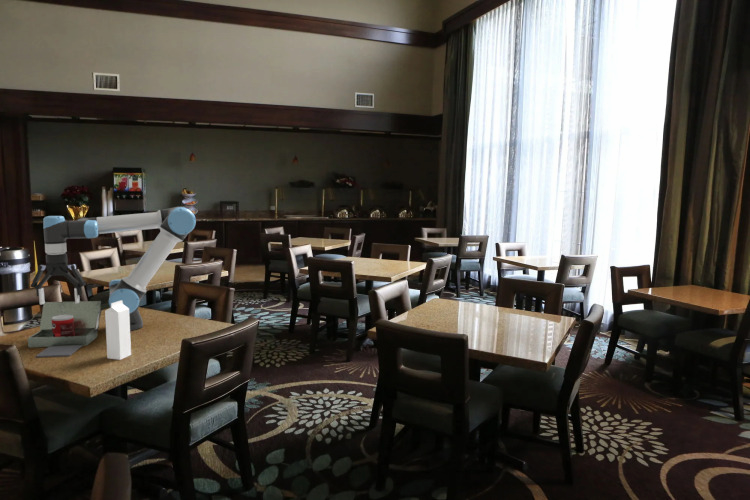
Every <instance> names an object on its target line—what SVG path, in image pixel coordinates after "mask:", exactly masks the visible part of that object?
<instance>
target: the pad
mask: <svg viewBox="0 0 750 500" xmlns="http://www.w3.org/2000/svg"><path fill="white" fill-rule="evenodd" d="M82 347H83V346H82V345H67V346H49V347H45V349H44V350H42V351H41V352H40V353H38V354H37V355H35V358H49V357H50V358H53V357H54V358H55V357H71V356H72V355H73V354H74V353H75V352H76V351H79V349H81V348H82Z"/></svg>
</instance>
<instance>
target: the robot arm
mask: <svg viewBox="0 0 750 500" xmlns="http://www.w3.org/2000/svg"><path fill="white" fill-rule="evenodd" d="M196 220H197V218H196V216H195V214H194V212H192V210H190V209H188V208H187V207H184V206H174V207H170V208H164V209H158V210H157V211H155V212H145V213H144V212H143V213H133V214H131V213H130V214H121V215H108V216H97V217H81V218H78V219H77V220H66V219H65V217H64V216H62V215H48V216H44V218H43V237H44V238H43V239H44V252H45V263H46V265H44V264H40V265H38V266H37V272H36V274H35V276H34V278H33V280H32V281H31V284H30V288H33V289H35V290H36V291H35V292H36V296H37V297H38V298H39V305H40V306H41V305H43V304H44V303H45V302H46V301H45V299H46V298H45V291H44V287H43V286H44V284H45V283H47V281H48V280H49V279H50V278H51V277H57V276H58V277H59V276H60V277H61V276H63V277H64V278H66V279H67V280H68V281H69V282H70V283H71V284H72V285H74V288H73V289H74V302H75V304H77V303H79V302H80V301H81V300H80V299H81V297H80V296H81V295H82V287H84V286H86V285H87V283H86V281H85V280H84V278H83V276H82V275H81V273H80V271H79V270H78V267H77V264H76V263H73V264H68V254H67V252H68V251H67V240H68V239H70V240H71V239H94V238H98V237H99V235H101V234H111V233H113V234H114V233H121V232H122V233H123V232H135V231H143V230H154V229H159V230H160V232H159V233H158V234H157V236H155V237H156V238H155V239H154V240H153V241H152V243H151V244H150V245H149V247H148V248H147V250H146V251H145V252H144V254H143V255H142V256H141V258H140V259H139V261H138V262H137V264H135V266H134V268H133V269H132V270H131V272H130V273H129V275H128V276H123V277H122V278H121V279H111V280H110V281H109V283H108V288H109V297H108V305H109V308H111V303H114V302H117V301H121V300H122V301H123V304H124V305H125V306H126V307H128V308H129V317H130V332H131V331H135V330H139V329H142V328H143V327H144V321H143V318H142V315H141V313H140V310H139V305H140V302H141V300H142V299H143V297H144V296H145V294H146V293H147V288H146V287H147V286H148V285H149V283H150V281H151V280H152V279H153V277H154V275H156V273H157V272H158V270H159V268H161V266H162V265H163V263H164V262H165V261H166V259H167V257H168V256H169V255H170V253H171V252H172V251H173V249H175V247H176V245H177V244H178V243H181V242H183V241H184V240H185V239H186V237H187V236H188V234H190V233H191V232H192V231H193V230H194V229H195V227H196V223H197V221H196ZM45 270H46V271H47V273H45V275H44V276H43V278H42V279H41V277H42V275H43V273H44V271H45ZM69 270H71V272H72V274H73V275H74V276H73V275H72V274H71V273H70V271H69ZM40 279H41V280H40Z"/></svg>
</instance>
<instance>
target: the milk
mask: <svg viewBox="0 0 750 500" xmlns="http://www.w3.org/2000/svg"><path fill="white" fill-rule="evenodd" d="M104 313H105V314H104V315H105V316H104V317H105V336H106V356H107V357H106V358H107V359H111V360H118V361H121V360H123V359H125V358H128V357H131V356H132V344H131V342H132V341H131V331H130V317H129V308H128V307H126V306H125V305H124V304H123V301H122V300H121V301H117V302H114V303H111V307H108V309H106V310H105V311H104Z"/></svg>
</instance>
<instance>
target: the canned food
mask: <svg viewBox="0 0 750 500" xmlns="http://www.w3.org/2000/svg"><path fill="white" fill-rule="evenodd" d="M52 332H53V337H63V336H74V318H73V315H58V316H54V317H52Z"/></svg>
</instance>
